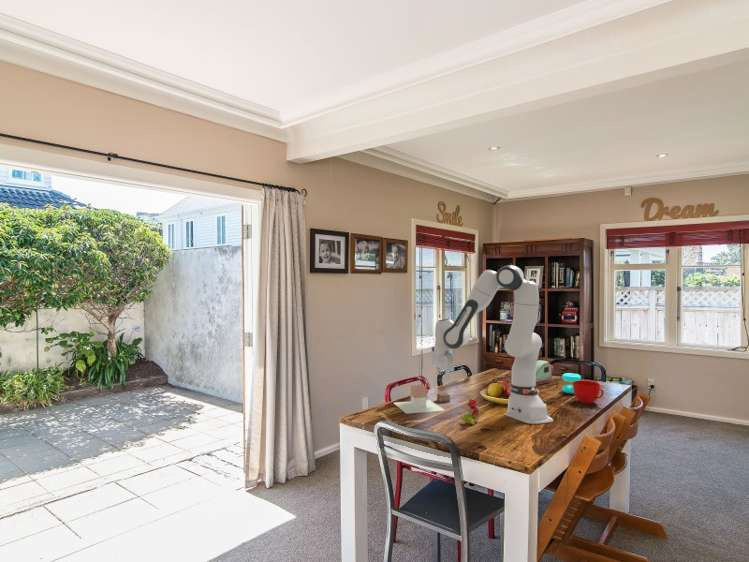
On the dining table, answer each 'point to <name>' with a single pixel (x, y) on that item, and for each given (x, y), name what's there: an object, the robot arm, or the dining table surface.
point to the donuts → (570, 378)
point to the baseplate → (409, 409)
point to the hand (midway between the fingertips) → (442, 376)
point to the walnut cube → (443, 397)
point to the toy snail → (543, 372)
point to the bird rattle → (472, 412)
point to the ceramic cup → (587, 391)
